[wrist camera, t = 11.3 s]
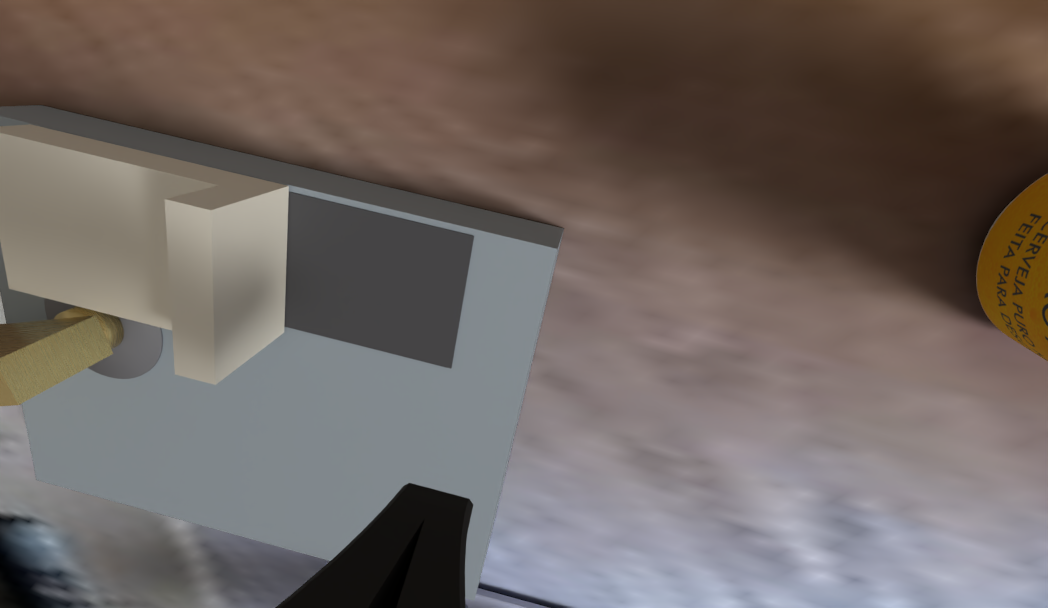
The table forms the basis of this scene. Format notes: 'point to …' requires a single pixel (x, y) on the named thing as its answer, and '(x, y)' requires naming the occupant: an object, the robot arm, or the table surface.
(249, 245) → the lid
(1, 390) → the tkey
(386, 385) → the grey flat rectangular board
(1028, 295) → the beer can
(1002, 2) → the table surface
